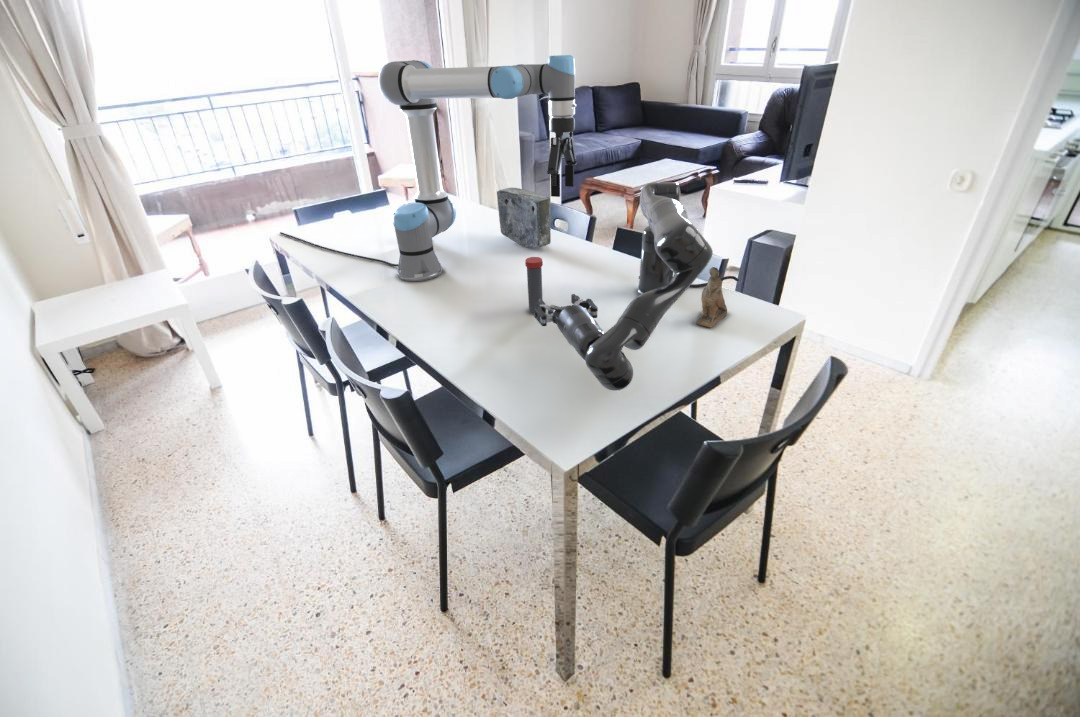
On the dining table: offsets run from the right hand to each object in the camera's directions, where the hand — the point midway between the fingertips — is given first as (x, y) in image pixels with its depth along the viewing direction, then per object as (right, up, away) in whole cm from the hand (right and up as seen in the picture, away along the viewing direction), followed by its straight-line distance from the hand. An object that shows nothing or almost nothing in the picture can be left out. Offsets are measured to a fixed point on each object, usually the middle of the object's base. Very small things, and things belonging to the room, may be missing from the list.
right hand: (556, 300), depth 123 cm
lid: (-6, +13, +17) cm, 22 cm away
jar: (-5, 0, +25) cm, 26 cm away
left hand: (+3, +38, +34) cm, 51 cm away
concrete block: (-9, +31, +77) cm, 83 cm away
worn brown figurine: (+44, -3, +17) cm, 48 cm away
